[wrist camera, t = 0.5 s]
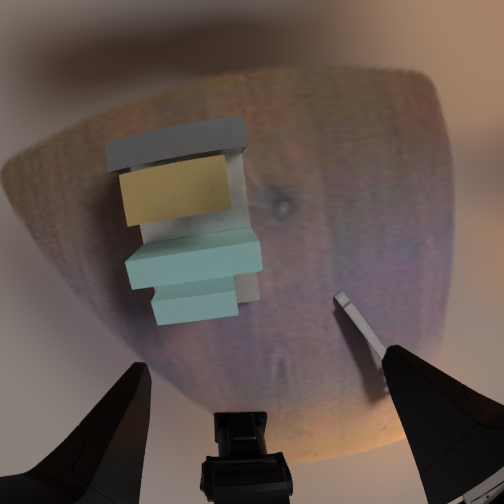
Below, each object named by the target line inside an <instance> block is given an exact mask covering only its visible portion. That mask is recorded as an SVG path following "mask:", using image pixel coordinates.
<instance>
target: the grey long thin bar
mask: <svg viewBox="0 0 504 504" xmlns="http://www.w3.org/2000/svg"><path fill="white" fill-rule="evenodd" d="M335 298H336V300H337V301H338V302H339V303H340V305H341V306H342V308H343V309H344V310H345V312H346V313H347V314H348V316H349V317H350V318H351V319H352V321H353V322H354V323H355V325H356V326H357V327H358V329H359V330H360V331H361V333H362V334H363V335H364V337H365V338H366V339H367V341H368V342H369V343H370V345H371V346H372V348H373V349H374V350H375V352H376V353H377V354H378V356H379V357H380V358H381V360H382V359H383V357H384V355H385V352H386V350H385V348H384V347H383V345H382V344H381V342H380V341H379V340H378V338H377V337H376V335H375V334H374V333H373V331H372V330H371V328H370V327H369V326H368V324H367V323H366V321H365V320H364V319H363V317H362V316H361V315H360V313H359V312H358V310H357V309H356V308H355V306H354V305H353V304H352V302H351V301H350V300H349V299H348V298H347V296H346V295H345V294H344V293H343V291H341V292H340V293H338V294H337V295H336V296H335Z"/></svg>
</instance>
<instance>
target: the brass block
mask: <svg viewBox="0 0 504 504" xmlns="http://www.w3.org/2000/svg"><path fill="white" fill-rule="evenodd" d="M119 179H120V186H121V192H122V198H123V204H124V210H125V215H126V221H127V226H128V227H129V226H135V225H140V224H145V223H151V222H156V221H162V220H167V219H173V218H179V217H185V216H191V215H197V214H203V213H210V212H216V211H223V210H230V209H232V207H231V200H230V192H229V185H228V178H227V170H226V163H225V155H219V156H212V157H206V158H199V159H193V160H187V161H182V162H176V163H171V164H166V165H161V166H156V167H151V168H146V169H142V170H137V171H133V172H129V173H125V174H120V175H119Z"/></svg>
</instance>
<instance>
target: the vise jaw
mask: <svg viewBox="0 0 504 504" xmlns="http://www.w3.org/2000/svg"><path fill="white" fill-rule="evenodd" d="M125 264H126V268H127V272H128V276H129V280H130V284H131V287H132V290H133V289H141V288H148V287H156V286H159V287H158V289H157V291H156V293H155V295H154V297H153V299H152V301H151V304H152V308H153V311H154V315H155V318H156V321H157V324H158V325H166V324H175V323H183V322H191V321H199V320H207V319H214V318H221V317H228V316H235V315H239V313H238V306H237V299H236V292H235V285H234V278H233V275H238V274H245V273H251V272H258V271H263V267H262V258H261V250H260V242H259V240H258V238H257V236H256V235H255V233H254V231H253V230H252V228H247V229H240V230H233V231H226V232H220V233H213V234H207V235H200V236H194V237H188V238H181V239H175V240H169V241H163V242H157V243H151V244H145V245H142V246H141V247H140V248H139V249H138V250H137V251H136V252H135V253H134V254H133V255H132V256H131V257H129V258H128V259H127V260H126V261H125Z"/></svg>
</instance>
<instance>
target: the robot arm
mask: <svg viewBox="0 0 504 504" xmlns="http://www.w3.org/2000/svg"><path fill="white" fill-rule="evenodd" d="M382 368H383V371H384V375H385V378H386V381H387V385H388V388H389V392H390V395H391V398H392V400H393V403H394V405H395V408H396V410H397V413H398V416H399V418H400V421H401V423H402V426H403V429H404V431H405V434H406V437H407V439H408V442H409V445H410V448H411V450H412V453H413V456H414V459H415V462H416V465H417V468H418V471H419V474H420V478H421V481H422V484H423V487H424V490H425V494H426V497H427V501H428V504H448V503H449V502H451V501H453V500H455V499H457V498H458V497H460V496H462V497H463V500H462V501H461V502H459V503H458V504H504V405H502V404H500V403H498V402H496V401H494V400H492V399H490V398H487V397H486V396H484V395H482V394H479V393H478V392H476V391H474V390H472V389H471V388H469V387H467V386H466V385H464V384H462V383H461V382H459V381H457V380H455V379H454V378H452V377H451V376H449V375H447V374H446V373H444V372H442V371H441V370H439V369H437V368H436V367H434V366H432V365H431V364H429V363H428V362H426V361H424V360H423V359H421V358H419V357H418V356H416V355H414V354H413V353H411V352H409V351H408V350H406V349H404V348H403V347H401V346H400V345H392V346H389V347H388V348H387V350H386V352H385V355H384V357H383V359H382ZM151 384H152V382H151V376H150V373H149V369H148V366H147V364H146V363H144V362H135V363H133V364H132V365H131V367H130V368H129V369H128V370H127V371H126V372H125V373H124V374H123V375H122V376H121V378H120V379H119V380H118V381H117V382H116V383H115V384H114V386H113V387H112V388H111V389H110V390H109V391H108V392H107V393H106V394H105V396H104V397H103V398H102V399H101V400H100V401H99V402H98V404H96V405H95V407H94V408H93V409H92V410H91V411H90V412H89V414H87V416H86V417H85V418H84V419H83V420H82V421H81V422H80V424H79V426H77V427H76V428H75V429H74V430H73V431H72V432H71V434H70V435H69V436H68V437H67V438H66V439H65V440H64V441H63V442H62V443H61V444H60V445H59V446H58V447H57V448H55V449H54V450H53V451H52V452H51V453H50V454H49V455H48V456H46V457H45V458H44V459H43V460H42V461H41V462H40V463H38V464H37V465H36V466H35V467H34V468H32V469H31V470H29V471H27V472H25V473H21V474H17V475H10V476H3V477H0V504H139V497H140V487H141V478H142V470H143V462H144V455H145V447H146V441H147V434H148V428H149V421H150V401H151ZM262 415H263V416H262ZM266 421H267V413H266V412H246V413H215V414H214V423H215V425H214V426H215V442H216V443H218V448H219V457H211V456H206V461H205V462H204V463H202V476H201V482H200V490H201V491H203V492H204V493H205V496H206V497H207V500H208V502H214V504H290V500H289V496H292V494H293V482H292V477H291V473H290V471H289V468H288V466H287V464H286V461H285V458H284V456H283V453H282V452H277V453H274V454H267V449H266V444H265V439H264V433H265V427H266Z"/></svg>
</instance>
